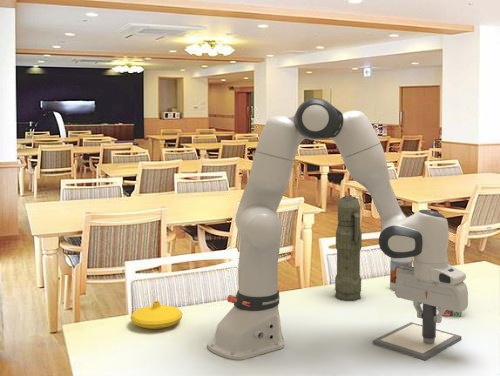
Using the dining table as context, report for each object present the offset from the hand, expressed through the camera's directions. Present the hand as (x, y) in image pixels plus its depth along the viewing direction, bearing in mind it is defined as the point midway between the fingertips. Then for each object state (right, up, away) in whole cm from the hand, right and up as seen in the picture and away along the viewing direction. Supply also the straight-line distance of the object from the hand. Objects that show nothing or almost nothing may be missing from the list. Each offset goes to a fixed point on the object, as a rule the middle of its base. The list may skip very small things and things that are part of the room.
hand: (429, 319), depth 162 cm
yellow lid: (-77, -6, +21) cm, 80 cm away
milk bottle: (+6, -1, +54) cm, 54 cm away
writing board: (-2, -7, +5) cm, 9 cm away
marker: (0, -6, +1) cm, 6 cm away
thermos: (-15, -2, +45) cm, 48 cm away
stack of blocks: (+16, -3, +35) cm, 39 cm away
